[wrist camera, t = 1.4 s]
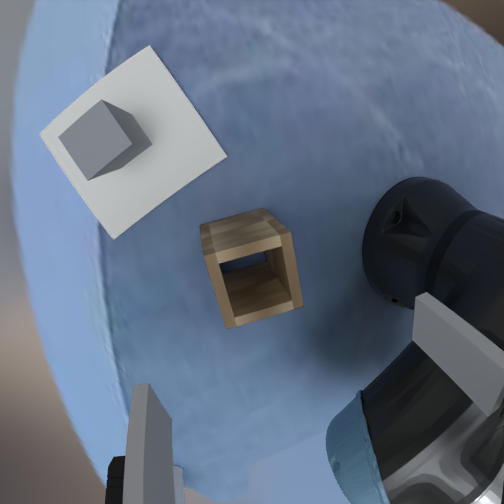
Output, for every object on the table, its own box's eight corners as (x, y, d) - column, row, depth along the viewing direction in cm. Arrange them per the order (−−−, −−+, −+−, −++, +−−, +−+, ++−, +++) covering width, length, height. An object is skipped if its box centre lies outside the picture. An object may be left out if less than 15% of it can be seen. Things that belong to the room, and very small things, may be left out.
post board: (151, 50, 21) (131, 1, 12) (225, 156, 26) (246, 162, 16) (46, 134, 22) (-19, 135, 12) (117, 235, 26) (82, 284, 17)
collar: (263, 207, 28) (290, 231, 21) (276, 266, 30) (303, 306, 23) (199, 225, 28) (203, 255, 20) (216, 283, 30) (226, 329, 22)
